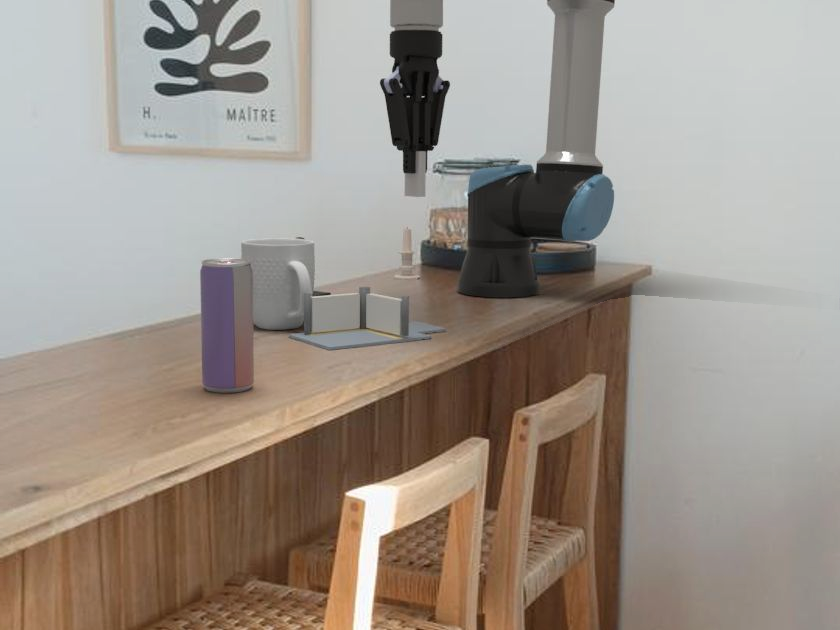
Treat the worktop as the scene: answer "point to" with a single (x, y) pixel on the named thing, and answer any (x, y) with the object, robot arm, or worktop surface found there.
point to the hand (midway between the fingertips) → (414, 196)
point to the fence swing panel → (387, 314)
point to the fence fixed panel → (335, 311)
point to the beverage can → (227, 325)
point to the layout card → (364, 336)
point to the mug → (280, 280)
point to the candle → (406, 258)
